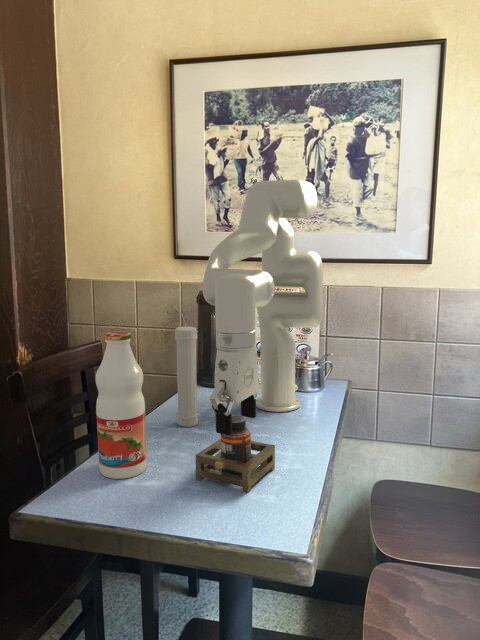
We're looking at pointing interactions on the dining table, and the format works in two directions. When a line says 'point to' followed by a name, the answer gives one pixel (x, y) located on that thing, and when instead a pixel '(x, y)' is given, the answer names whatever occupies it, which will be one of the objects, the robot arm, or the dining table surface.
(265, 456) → the collar stand
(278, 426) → the dining table surface
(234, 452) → the supplement bottle
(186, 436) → the dining table surface
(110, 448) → the fruit juice
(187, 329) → the pipe
